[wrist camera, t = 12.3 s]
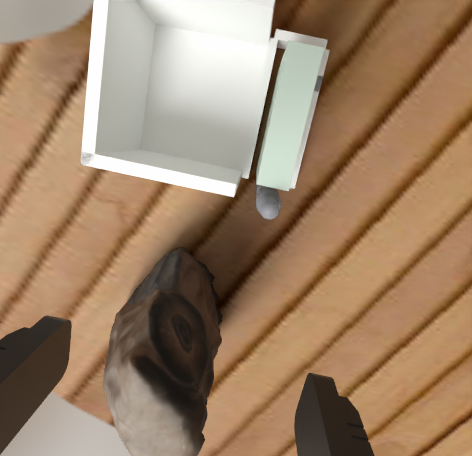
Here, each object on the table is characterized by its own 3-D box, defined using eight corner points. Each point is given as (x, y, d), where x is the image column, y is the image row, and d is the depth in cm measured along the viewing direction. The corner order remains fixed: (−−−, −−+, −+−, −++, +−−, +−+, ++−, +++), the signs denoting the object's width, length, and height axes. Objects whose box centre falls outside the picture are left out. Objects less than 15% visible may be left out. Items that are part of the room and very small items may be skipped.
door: (310, 79, 35) (338, 50, 23) (287, 176, 37) (300, 193, 26) (277, 72, 35) (288, 40, 23) (256, 169, 37) (256, 184, 26)
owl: (182, 232, 40) (112, 324, 20) (262, 300, 41) (268, 443, 22) (119, 305, 43) (6, 444, 23) (196, 365, 44) (150, 541, 25)
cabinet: (325, 48, 34) (366, -3, 21) (287, 199, 38) (303, 230, 25) (152, 12, 34) (90, -62, 21) (133, 166, 38) (72, 181, 25)
